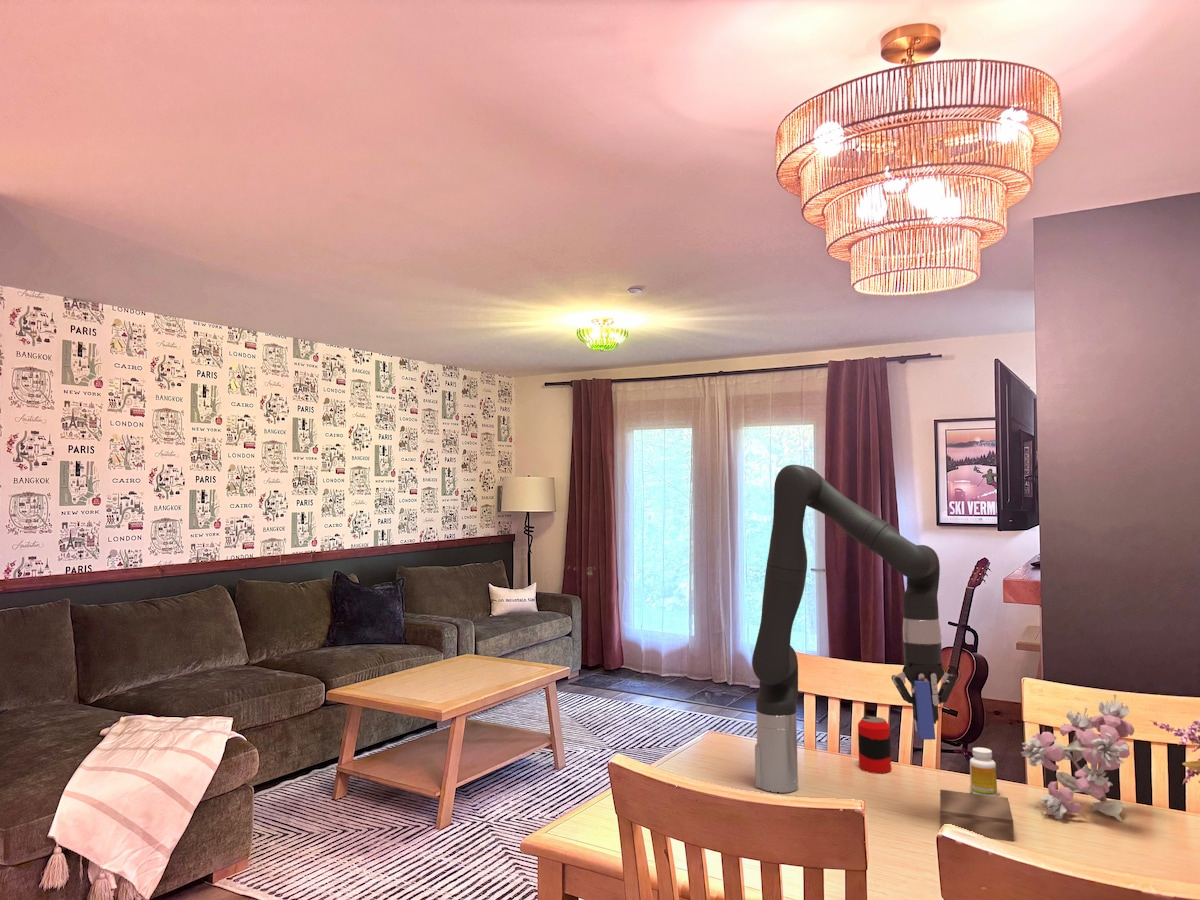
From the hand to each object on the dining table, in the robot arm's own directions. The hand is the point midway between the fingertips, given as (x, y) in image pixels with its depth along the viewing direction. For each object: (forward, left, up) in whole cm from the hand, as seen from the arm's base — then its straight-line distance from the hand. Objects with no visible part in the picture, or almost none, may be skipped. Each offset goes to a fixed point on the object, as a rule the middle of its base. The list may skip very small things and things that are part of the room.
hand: (925, 722), depth 167 cm
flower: (+29, +13, -20) cm, 38 cm away
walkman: (0, 0, -3) cm, 3 cm away
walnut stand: (+9, 0, -19) cm, 21 cm away
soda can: (-13, +29, -20) cm, 37 cm away
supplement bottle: (+11, +20, -20) cm, 30 cm away
